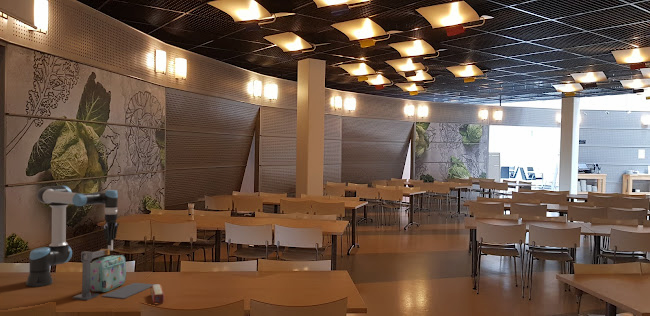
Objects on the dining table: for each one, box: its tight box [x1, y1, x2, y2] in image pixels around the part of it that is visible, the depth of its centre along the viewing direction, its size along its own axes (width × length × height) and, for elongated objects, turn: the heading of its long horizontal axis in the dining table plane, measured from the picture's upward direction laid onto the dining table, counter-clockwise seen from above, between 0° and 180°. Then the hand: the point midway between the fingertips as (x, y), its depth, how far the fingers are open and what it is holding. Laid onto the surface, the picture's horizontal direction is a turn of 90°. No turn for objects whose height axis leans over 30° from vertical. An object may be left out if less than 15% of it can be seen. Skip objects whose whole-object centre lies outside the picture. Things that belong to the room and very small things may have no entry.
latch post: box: [72, 250, 100, 301], centre depth 290 cm, size 10×10×28 cm
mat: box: [101, 282, 155, 300], centre depth 306 cm, size 16×32×1 cm, turn 166°
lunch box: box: [90, 254, 127, 293], centre depth 310 cm, size 27×10×21 cm, turn 168°
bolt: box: [83, 248, 111, 260], centre depth 298 cm, size 6×18×3 cm, turn 166°
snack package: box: [150, 283, 165, 304], centre depth 290 cm, size 21×7×7 cm, turn 23°
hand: (110, 249), depth 311 cm, fingers closed
